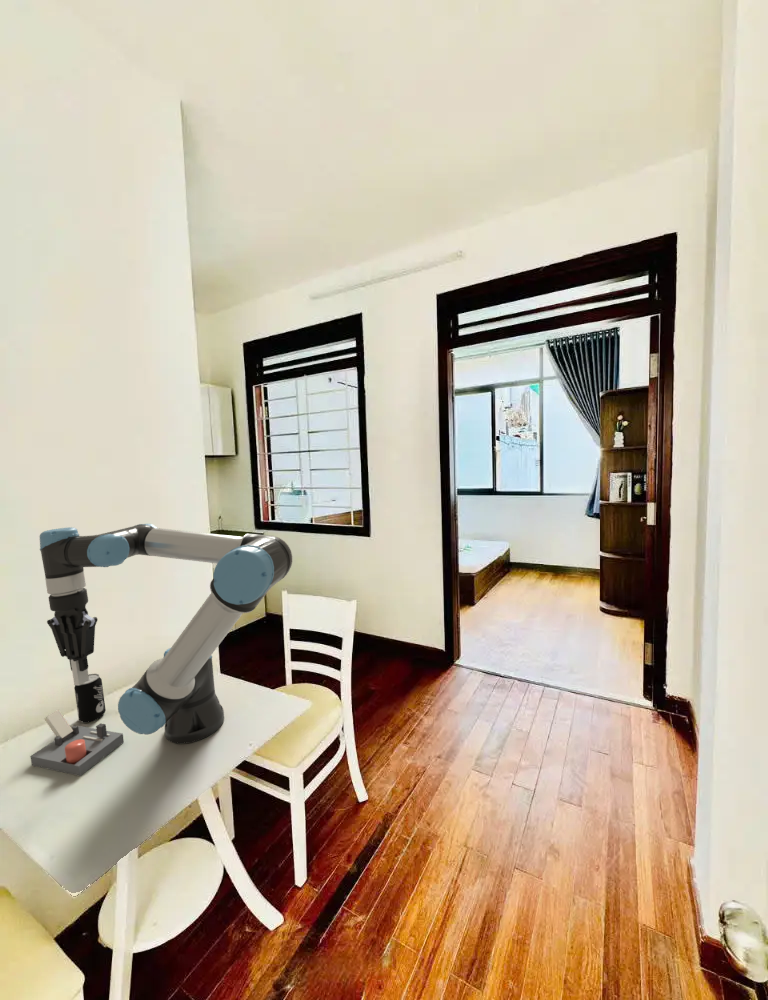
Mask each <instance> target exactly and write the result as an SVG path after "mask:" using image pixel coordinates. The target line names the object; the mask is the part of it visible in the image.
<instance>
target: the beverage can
mask: <svg viewBox="0 0 768 1000" xmlns="http://www.w3.org/2000/svg"><path fill="white" fill-rule="evenodd" d="M88 675H89V680H88V681H86V682H84V683H83V684H81V685H74V695H75V703H76V710H77V717H78V721H80V722H81V723H84V724H85V723H86V724H87V723H92V722H95V721H97V720H99V719H102V717H103V716H104V714H105V713H106V702H105V695H104V689H103V687H104V686H103V681H102V679H103V678H101V677H100V674H99V673H90V674H89V673H88Z"/></svg>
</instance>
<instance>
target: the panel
mask: <svg viewBox="0 0 768 1000" xmlns="http://www.w3.org/2000/svg"><path fill="white" fill-rule="evenodd" d="M70 727H71V728H72V729H73V735H72V736H70V737H69V738H67V739H66V740H64V741H63V742H62V737H58V736H57V737H56V736H55V737H54V738H53V741H51V742H50V743H48V744H47V745H45V746H44V747H42V748H41V749H39V750H37V751H36V752H34V753H33V754H31V755H29V757H30V761H31V766H33V767H37V768H43V769H47V770H52V771H55V772H59V773H64V774H65V773H66V774H69V775H74V776H78V777H81V776H82V775H83V774H85V773H86V772H87V771H89V770H90V769H92V767H93V766H95V765H96V764H97V763H99V762H101V760H103V759H104V758H106V757H107V756H108V755H110V754H111V753H112V752H113V751H114V750H116V749H117V748H118V747H120V746H121V745H122V744H124V741H125V739H124V734H123V733H121V732H116V731H110V730H106V731H107V735H106V736H105V737H103V738H101V737H97V729H96V728H94V727H88V726H81V725H72V726H70ZM79 739H83V740H85V746H86V754H87V756H85V757H84V758H83V759H81V760H80V761H79V762H77V763H76V764H69V763H67V761H66V754H65V747H66V745H68V744H69V743H71V742H73V741H75V740H79Z"/></svg>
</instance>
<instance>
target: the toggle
mask: <svg viewBox="0 0 768 1000" xmlns="http://www.w3.org/2000/svg"><path fill="white" fill-rule="evenodd" d="M44 721H45V722H46V724H47V725H48V727H49V728H50V730H51V731H52V733H54V735H55V737H57V736H58V737H62V742H63V741H64V740H66V739H67V738H69V737H70V736H72V735H73V729H72V728H71V727H72V726H71V725H70V724H69V723H68V720H66V718H65V717H64V715H63V714H62V712H61V711H60V709H56V710H55V711H54V712H51V713H50V714H48V715H47V716H45V718H44Z"/></svg>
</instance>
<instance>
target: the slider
mask: <svg viewBox="0 0 768 1000" xmlns="http://www.w3.org/2000/svg"><path fill="white" fill-rule="evenodd" d="M95 727H96V728H95V729H97V737H101V738H103V737H105V736H106V735H107V731H108V730H107V726H106V724H105V723H99V724H97V725H96V726H95Z"/></svg>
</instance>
